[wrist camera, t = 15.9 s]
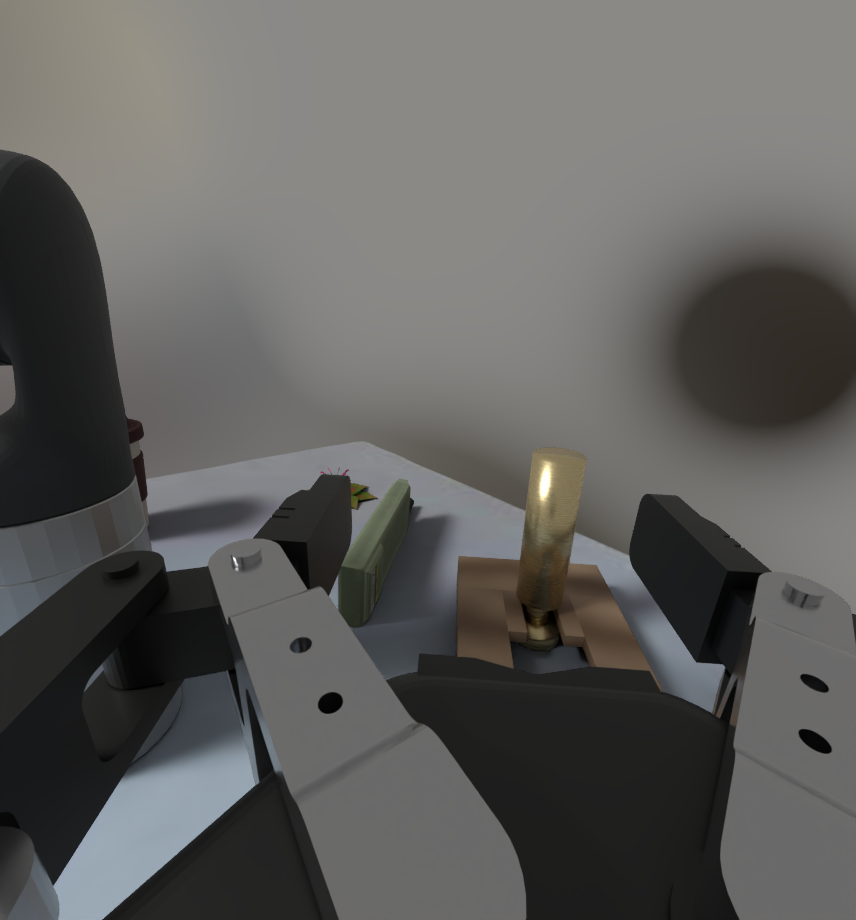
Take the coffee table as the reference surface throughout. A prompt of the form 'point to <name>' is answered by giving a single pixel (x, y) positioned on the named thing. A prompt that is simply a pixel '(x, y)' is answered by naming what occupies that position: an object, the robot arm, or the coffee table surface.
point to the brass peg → (548, 541)
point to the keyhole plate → (578, 618)
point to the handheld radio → (373, 555)
